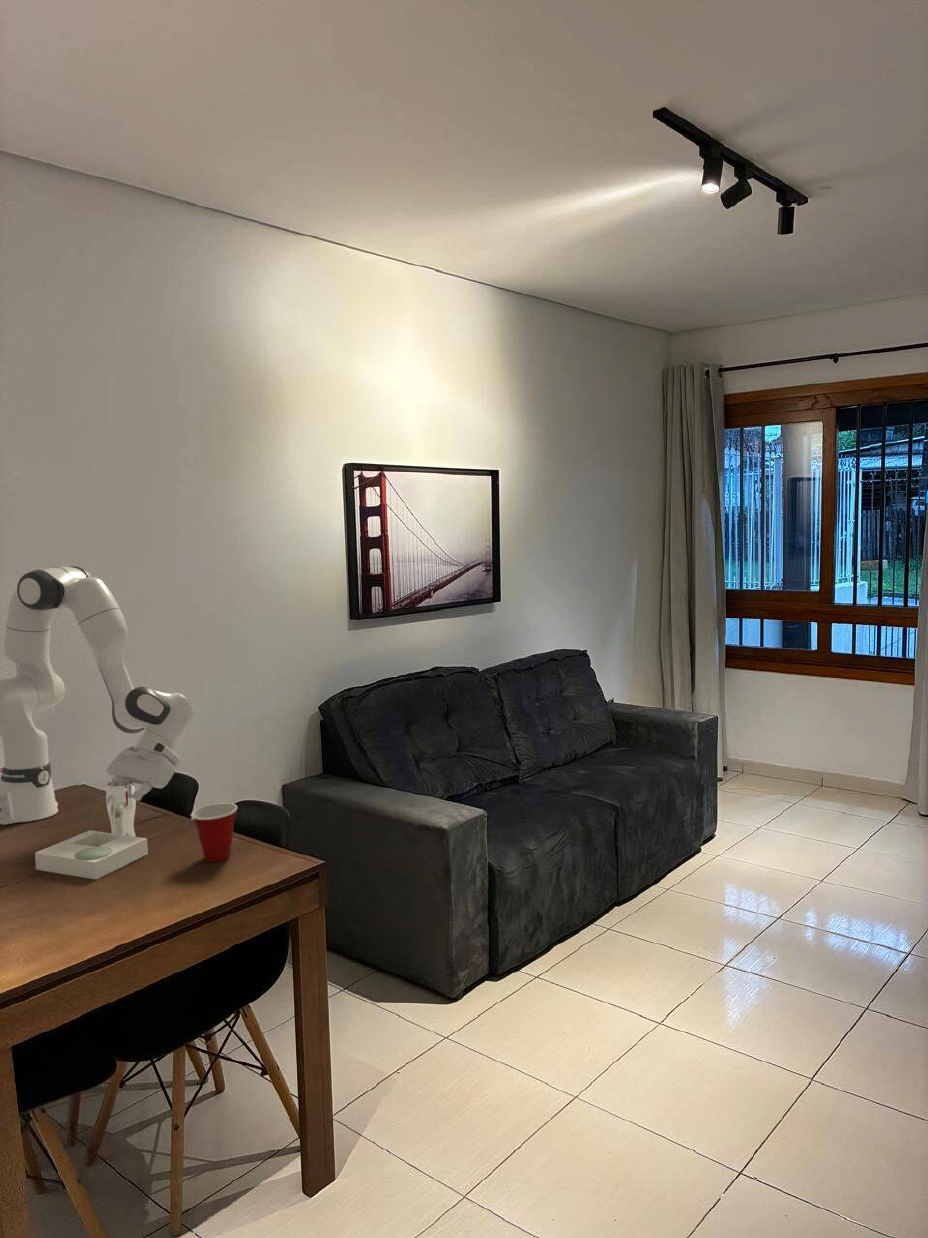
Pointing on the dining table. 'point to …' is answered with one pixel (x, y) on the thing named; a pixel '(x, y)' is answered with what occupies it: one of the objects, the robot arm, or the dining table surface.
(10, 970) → the dining table surface
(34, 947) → the dining table surface
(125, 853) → the pale board
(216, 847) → the plastic cup
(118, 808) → the beer glass
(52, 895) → the dining table surface
